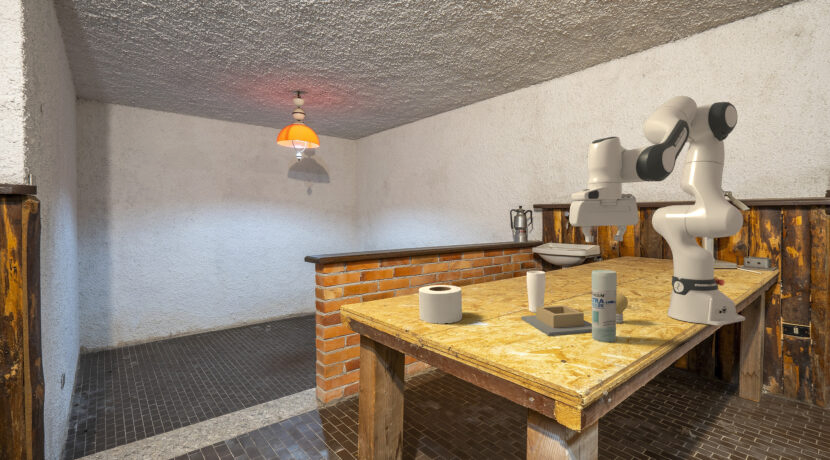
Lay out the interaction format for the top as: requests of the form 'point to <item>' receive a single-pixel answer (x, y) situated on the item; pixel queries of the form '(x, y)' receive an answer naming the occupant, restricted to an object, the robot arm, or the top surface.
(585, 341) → the top surface
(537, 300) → the drinking glass
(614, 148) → the robot arm
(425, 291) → the toilet paper roll
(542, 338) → the top surface
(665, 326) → the top surface
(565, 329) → the socket
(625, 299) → the light bulb
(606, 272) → the spray paint can
